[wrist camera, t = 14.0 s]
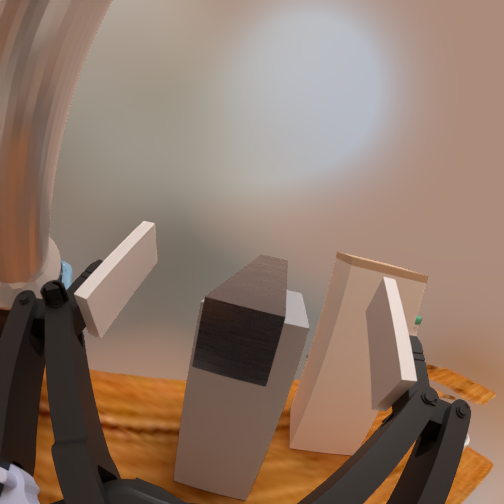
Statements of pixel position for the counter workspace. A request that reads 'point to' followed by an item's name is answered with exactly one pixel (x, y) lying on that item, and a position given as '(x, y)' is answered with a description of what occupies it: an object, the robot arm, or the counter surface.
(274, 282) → the handle rail
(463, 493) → the counter surface
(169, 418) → the counter surface
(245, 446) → the tall grey pillar block
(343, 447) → the cabinet block
